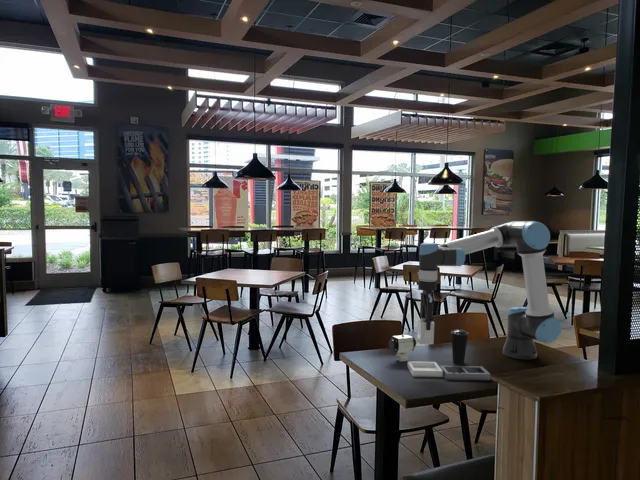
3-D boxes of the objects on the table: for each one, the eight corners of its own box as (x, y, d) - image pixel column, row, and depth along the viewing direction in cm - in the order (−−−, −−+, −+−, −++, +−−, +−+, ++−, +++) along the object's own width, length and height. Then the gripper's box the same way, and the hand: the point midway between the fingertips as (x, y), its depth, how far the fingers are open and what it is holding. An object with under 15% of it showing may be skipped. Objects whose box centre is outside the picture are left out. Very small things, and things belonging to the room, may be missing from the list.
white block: (430, 340, 206) (431, 318, 206) (433, 344, 201) (434, 321, 200) (417, 340, 206) (418, 317, 206) (420, 343, 201) (421, 320, 200)
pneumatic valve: (388, 360, 219) (388, 333, 219) (410, 357, 224) (410, 331, 223) (394, 363, 214) (395, 337, 214) (416, 361, 219) (417, 334, 218)
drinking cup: (468, 365, 214) (470, 320, 213) (450, 364, 216) (451, 319, 214) (466, 360, 222) (468, 317, 220) (449, 359, 223) (450, 316, 222)
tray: (435, 367, 210) (435, 361, 210) (442, 377, 198) (442, 371, 198) (407, 367, 210) (407, 361, 210) (413, 376, 198) (413, 370, 198)
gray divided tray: (481, 372, 206) (482, 366, 206) (490, 380, 196) (490, 374, 196) (439, 371, 205) (439, 365, 205) (445, 379, 195) (446, 373, 195)
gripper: (414, 277, 211) (412, 330, 213) (423, 283, 193) (421, 341, 194) (431, 277, 211) (429, 330, 213) (442, 283, 193) (440, 341, 194)
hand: (425, 335), depth 203 cm, fingers closed on white block, 5 cm apart
